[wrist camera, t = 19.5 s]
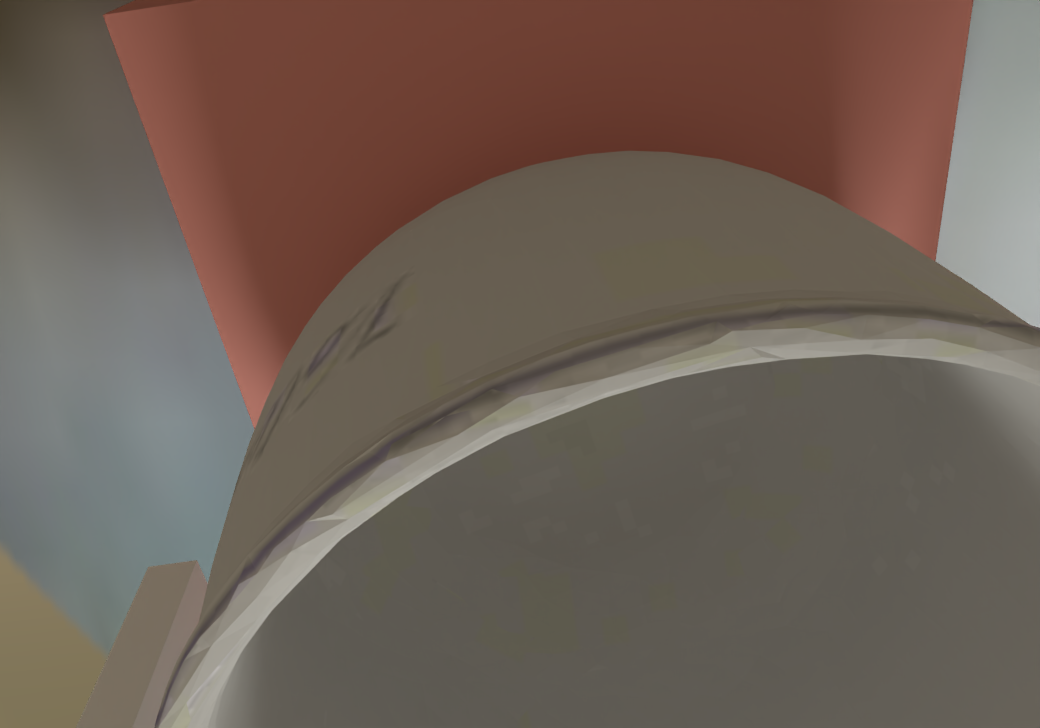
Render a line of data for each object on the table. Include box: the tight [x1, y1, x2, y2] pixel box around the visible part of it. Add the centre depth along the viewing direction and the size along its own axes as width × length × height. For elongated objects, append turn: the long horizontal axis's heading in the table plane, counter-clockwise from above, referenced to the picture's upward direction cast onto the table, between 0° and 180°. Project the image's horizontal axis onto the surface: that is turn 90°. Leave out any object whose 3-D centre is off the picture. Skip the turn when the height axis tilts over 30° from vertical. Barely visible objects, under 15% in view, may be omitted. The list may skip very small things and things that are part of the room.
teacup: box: [155, 151, 1040, 728], centre depth 12 cm, size 14×11×8 cm
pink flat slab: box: [103, 0, 973, 429], centre depth 16 cm, size 2×17×12 cm
